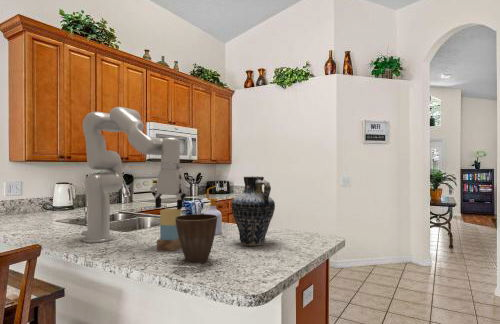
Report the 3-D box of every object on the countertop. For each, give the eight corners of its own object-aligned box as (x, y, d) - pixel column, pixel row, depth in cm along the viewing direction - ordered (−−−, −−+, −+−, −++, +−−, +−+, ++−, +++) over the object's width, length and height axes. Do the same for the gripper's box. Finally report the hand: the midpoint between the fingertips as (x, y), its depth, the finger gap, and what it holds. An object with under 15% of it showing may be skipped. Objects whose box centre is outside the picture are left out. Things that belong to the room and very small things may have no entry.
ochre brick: (167, 222, 136) (167, 208, 136) (180, 223, 135) (180, 208, 135) (160, 224, 130) (160, 210, 131) (173, 225, 129) (173, 210, 129)
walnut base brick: (156, 250, 130) (156, 240, 130) (166, 245, 137) (166, 236, 137) (175, 251, 128) (175, 241, 128) (183, 246, 135) (184, 237, 135)
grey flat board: (143, 252, 129) (143, 250, 129) (158, 245, 140) (158, 243, 140) (184, 255, 124) (184, 253, 124) (196, 247, 136) (196, 246, 136)
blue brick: (167, 236, 136) (167, 222, 136) (180, 237, 135) (180, 223, 135) (160, 239, 130) (160, 224, 130) (173, 240, 129) (173, 225, 129)
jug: (222, 243, 143) (221, 176, 144) (252, 237, 157) (252, 175, 157) (255, 252, 128) (255, 176, 129) (286, 244, 142) (285, 176, 143)
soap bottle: (220, 235, 162) (220, 186, 162) (202, 235, 162) (202, 186, 162) (222, 231, 171) (222, 185, 171) (205, 231, 171) (205, 185, 171)
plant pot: (179, 270, 106) (179, 221, 106) (171, 258, 120) (172, 215, 120) (222, 264, 112) (222, 218, 112) (210, 254, 126) (210, 213, 126)
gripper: (192, 168, 136) (191, 208, 136) (156, 166, 140) (154, 206, 140) (185, 168, 129) (183, 211, 128) (146, 166, 133) (145, 208, 133)
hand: (168, 208), depth 134 cm, fingers open, 9 cm apart
